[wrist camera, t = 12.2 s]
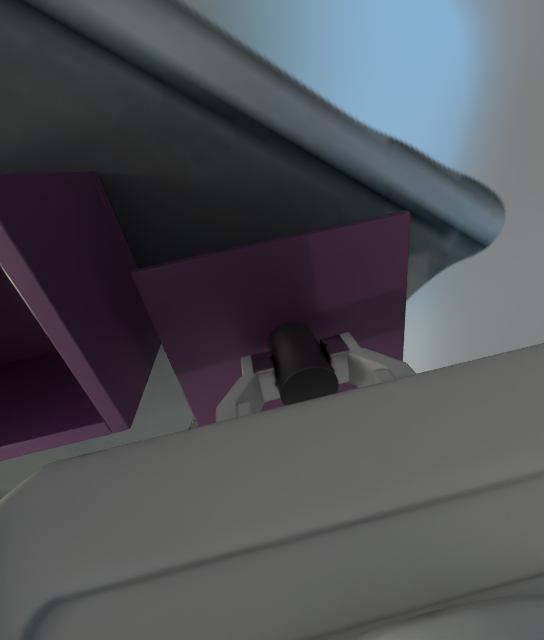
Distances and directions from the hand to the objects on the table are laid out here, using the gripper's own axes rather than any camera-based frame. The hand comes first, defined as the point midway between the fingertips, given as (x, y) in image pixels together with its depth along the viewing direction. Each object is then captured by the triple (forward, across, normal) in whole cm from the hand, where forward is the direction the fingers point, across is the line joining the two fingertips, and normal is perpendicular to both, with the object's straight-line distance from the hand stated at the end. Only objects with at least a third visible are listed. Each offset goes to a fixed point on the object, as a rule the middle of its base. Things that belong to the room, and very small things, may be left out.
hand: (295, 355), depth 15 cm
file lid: (+2, 0, 0) cm, 2 cm away
